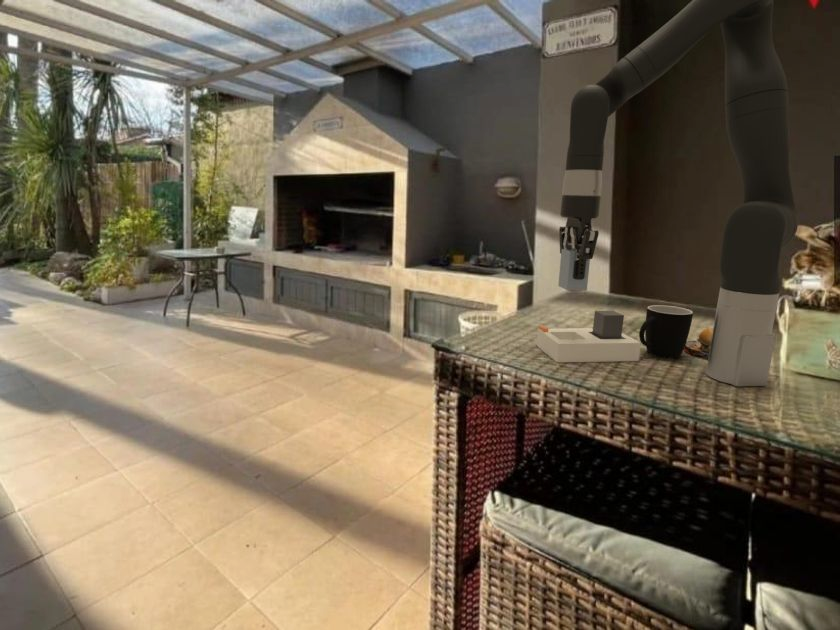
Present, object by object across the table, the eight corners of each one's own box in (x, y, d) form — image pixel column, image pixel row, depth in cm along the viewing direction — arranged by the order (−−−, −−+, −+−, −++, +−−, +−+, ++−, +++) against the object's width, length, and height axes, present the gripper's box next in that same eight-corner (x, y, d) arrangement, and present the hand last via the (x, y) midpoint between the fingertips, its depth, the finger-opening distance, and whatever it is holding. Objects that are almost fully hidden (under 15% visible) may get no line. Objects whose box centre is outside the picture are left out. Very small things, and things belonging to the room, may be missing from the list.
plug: (586, 289, 103) (590, 251, 101) (566, 289, 102) (570, 251, 101) (577, 286, 107) (581, 249, 105) (558, 286, 107) (561, 248, 105)
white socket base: (638, 361, 104) (644, 319, 102) (556, 362, 102) (560, 320, 100) (610, 344, 116) (614, 307, 114) (536, 345, 113) (539, 307, 111)
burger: (753, 366, 104) (759, 331, 102) (692, 361, 106) (697, 327, 104) (730, 349, 115) (735, 318, 114) (675, 345, 118) (680, 314, 116)
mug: (661, 346, 115) (668, 304, 113) (695, 358, 107) (703, 312, 105) (622, 351, 111) (627, 307, 108) (654, 363, 103) (660, 316, 100)
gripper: (616, 194, 94) (606, 283, 98) (583, 194, 108) (575, 272, 112) (579, 193, 93) (570, 283, 97) (550, 193, 107) (543, 272, 111)
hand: (573, 276), depth 104 cm, fingers closed on plug, 4 cm apart
